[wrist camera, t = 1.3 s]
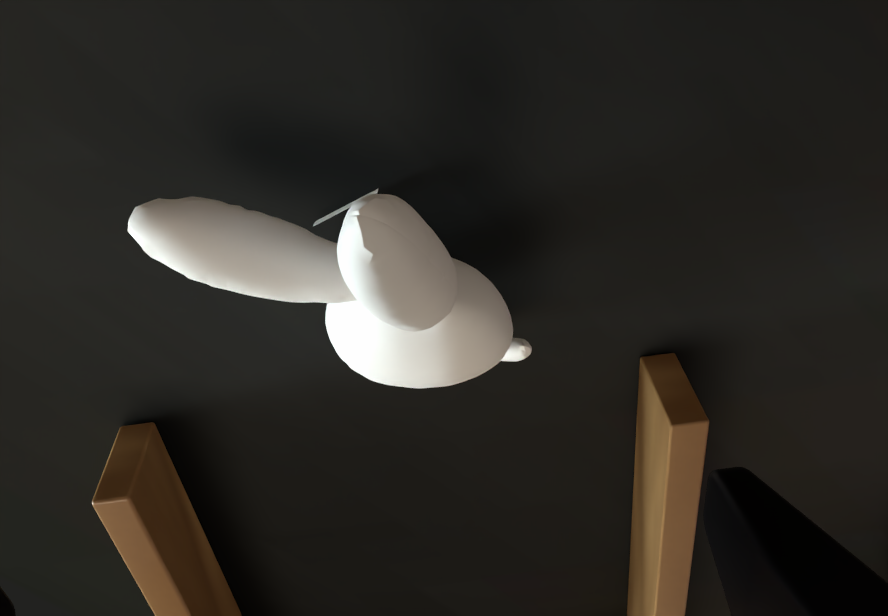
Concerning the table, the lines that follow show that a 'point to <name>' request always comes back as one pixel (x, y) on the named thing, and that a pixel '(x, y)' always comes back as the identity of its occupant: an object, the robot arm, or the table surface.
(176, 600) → the frame
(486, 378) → the table surface
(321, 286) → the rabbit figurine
